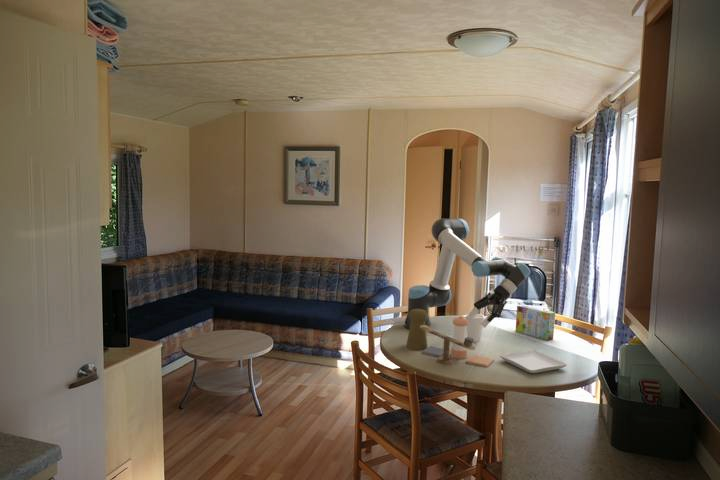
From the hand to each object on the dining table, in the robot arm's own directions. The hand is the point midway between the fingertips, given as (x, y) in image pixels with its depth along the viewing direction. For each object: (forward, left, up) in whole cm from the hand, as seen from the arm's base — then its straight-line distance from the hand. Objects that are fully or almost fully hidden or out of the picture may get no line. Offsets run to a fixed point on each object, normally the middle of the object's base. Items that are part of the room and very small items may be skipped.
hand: (475, 322), depth 234 cm
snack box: (+16, +53, -16) cm, 58 cm away
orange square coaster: (+6, -8, -16) cm, 19 cm away
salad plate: (+27, +2, -17) cm, 32 cm away
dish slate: (-16, -8, -16) cm, 24 cm away
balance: (-7, -17, -16) cm, 24 cm away
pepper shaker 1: (-27, -6, -16) cm, 32 cm away
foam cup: (-8, +24, -16) cm, 31 cm away
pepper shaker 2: (-5, -6, -16) cm, 18 cm away
